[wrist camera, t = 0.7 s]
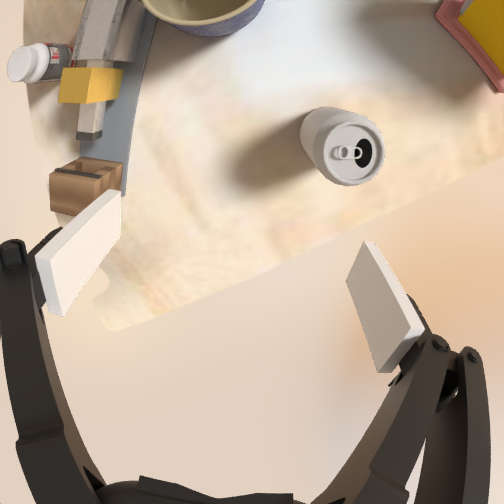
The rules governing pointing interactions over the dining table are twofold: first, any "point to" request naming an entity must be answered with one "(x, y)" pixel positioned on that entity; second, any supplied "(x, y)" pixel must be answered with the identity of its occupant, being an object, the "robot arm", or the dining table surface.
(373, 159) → the can
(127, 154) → the board
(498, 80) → the yellow fan-shaped sign
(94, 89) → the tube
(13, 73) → the pill bottle
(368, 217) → the dining table surface
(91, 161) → the socket
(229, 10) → the planter
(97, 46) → the sleeve
